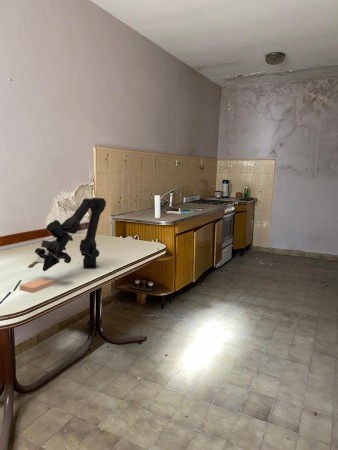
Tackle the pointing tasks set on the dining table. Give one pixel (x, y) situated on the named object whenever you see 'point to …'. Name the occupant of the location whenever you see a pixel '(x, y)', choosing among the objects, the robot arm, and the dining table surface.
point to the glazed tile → (36, 285)
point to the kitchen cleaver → (39, 260)
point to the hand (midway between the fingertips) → (43, 270)
